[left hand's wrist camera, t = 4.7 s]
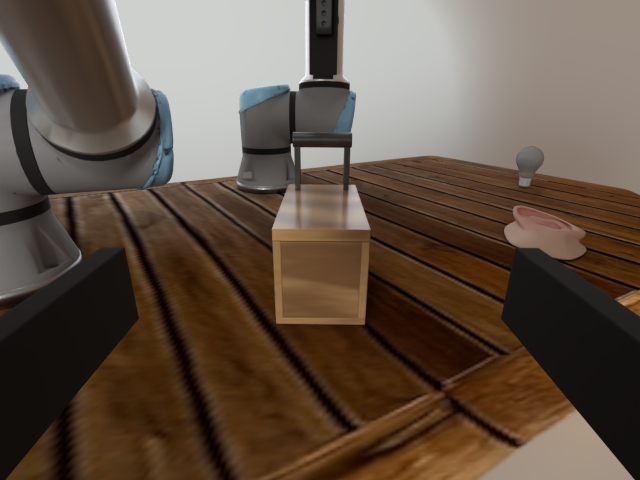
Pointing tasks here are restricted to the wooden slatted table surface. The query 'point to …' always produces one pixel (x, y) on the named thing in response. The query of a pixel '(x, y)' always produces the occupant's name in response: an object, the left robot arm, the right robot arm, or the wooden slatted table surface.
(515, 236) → the anatomical model
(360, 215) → the lid
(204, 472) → the wooden slatted table surface
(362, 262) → the chest
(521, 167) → the light bulb
